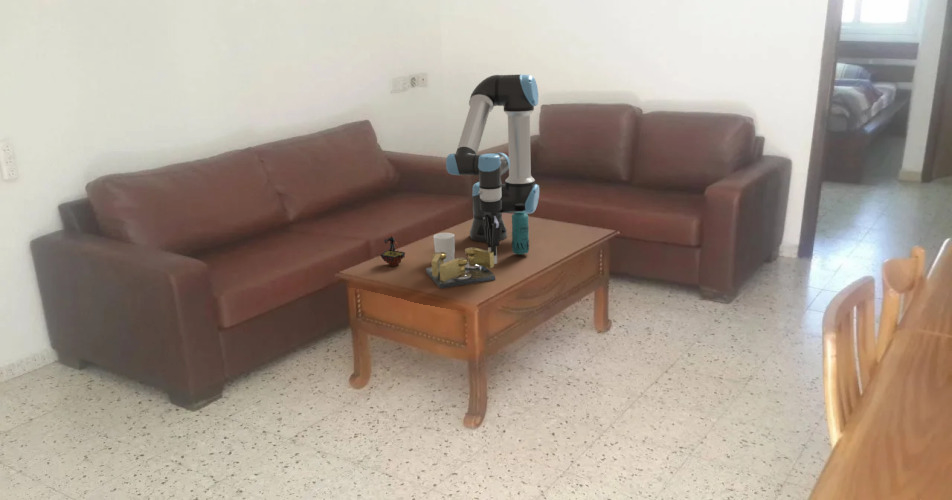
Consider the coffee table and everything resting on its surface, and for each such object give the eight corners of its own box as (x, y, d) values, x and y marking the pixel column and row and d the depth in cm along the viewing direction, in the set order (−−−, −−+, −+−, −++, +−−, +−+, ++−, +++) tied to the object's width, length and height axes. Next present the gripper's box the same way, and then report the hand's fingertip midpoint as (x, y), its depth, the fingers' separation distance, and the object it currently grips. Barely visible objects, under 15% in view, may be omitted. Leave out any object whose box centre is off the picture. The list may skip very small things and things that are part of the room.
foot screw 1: (434, 266, 283) (433, 250, 281) (448, 266, 282) (447, 250, 280) (428, 277, 272) (427, 261, 270) (442, 277, 271) (441, 261, 269)
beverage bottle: (508, 256, 298) (507, 204, 292) (519, 251, 303) (518, 201, 296) (521, 259, 294) (520, 207, 288) (533, 254, 298) (532, 203, 292)
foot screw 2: (460, 271, 277) (460, 254, 275) (471, 273, 274) (470, 257, 272) (437, 280, 268) (436, 264, 266) (447, 283, 265) (446, 266, 263)
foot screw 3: (462, 264, 284) (462, 248, 282) (471, 260, 287) (471, 245, 285) (487, 270, 276) (487, 254, 274) (496, 267, 279) (496, 251, 277)
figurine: (410, 263, 294) (408, 232, 290) (397, 270, 288) (395, 238, 284) (389, 260, 299) (387, 229, 295) (376, 266, 293) (373, 235, 289)
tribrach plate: (478, 264, 290) (478, 255, 289) (495, 279, 274) (495, 270, 273) (426, 272, 284) (425, 263, 283) (440, 288, 268) (439, 279, 267)
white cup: (446, 256, 301) (444, 231, 298) (460, 260, 295) (459, 235, 292) (430, 261, 296) (429, 236, 292) (444, 266, 290) (443, 240, 287)
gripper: (474, 196, 278) (477, 259, 285) (486, 204, 266) (489, 270, 274) (494, 193, 280) (496, 256, 287) (507, 202, 268) (509, 267, 276)
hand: (492, 263), depth 281 cm, fingers closed
